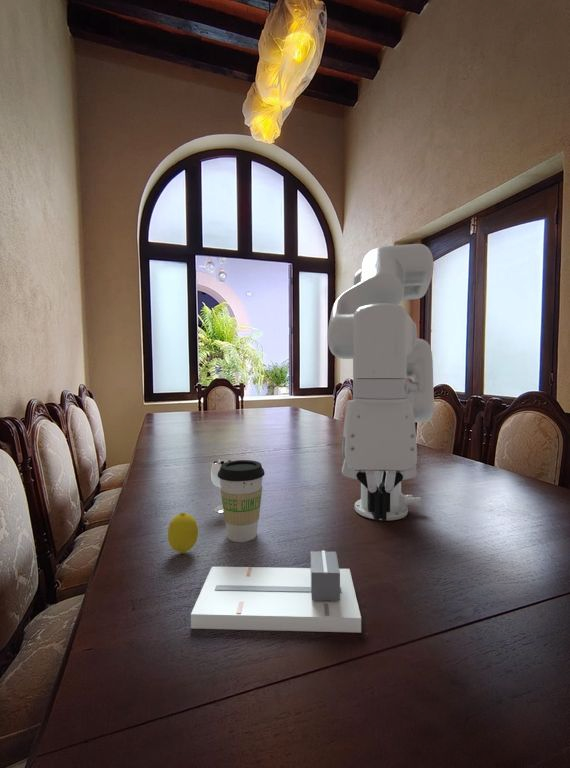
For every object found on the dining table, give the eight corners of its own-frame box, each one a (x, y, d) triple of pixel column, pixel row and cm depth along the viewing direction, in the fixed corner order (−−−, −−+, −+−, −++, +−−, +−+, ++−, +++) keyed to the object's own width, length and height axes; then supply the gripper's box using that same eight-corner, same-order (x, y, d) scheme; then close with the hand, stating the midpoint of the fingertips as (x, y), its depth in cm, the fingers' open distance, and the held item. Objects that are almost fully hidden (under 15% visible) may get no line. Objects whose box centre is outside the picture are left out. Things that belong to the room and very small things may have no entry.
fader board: (349, 580, 61) (349, 568, 61) (361, 632, 49) (361, 617, 49) (212, 578, 62) (212, 565, 62) (191, 628, 50) (190, 613, 50)
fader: (335, 576, 58) (335, 550, 58) (340, 600, 52) (340, 572, 52) (310, 575, 59) (310, 550, 58) (311, 600, 52) (311, 571, 52)
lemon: (186, 543, 75) (186, 504, 74) (204, 552, 71) (203, 511, 71) (162, 554, 70) (161, 513, 70) (179, 564, 67) (178, 521, 66)
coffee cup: (220, 549, 72) (219, 473, 71) (216, 528, 82) (215, 461, 81) (269, 542, 75) (269, 469, 74) (260, 522, 84) (259, 457, 84)
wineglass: (230, 514, 89) (229, 465, 89) (207, 512, 90) (206, 464, 90) (237, 505, 95) (237, 459, 94) (216, 504, 96) (215, 458, 95)
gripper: (423, 390, 57) (422, 508, 57) (325, 390, 58) (325, 506, 58) (441, 392, 49) (440, 528, 50) (329, 392, 50) (329, 526, 51)
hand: (378, 516), depth 54 cm, fingers closed
